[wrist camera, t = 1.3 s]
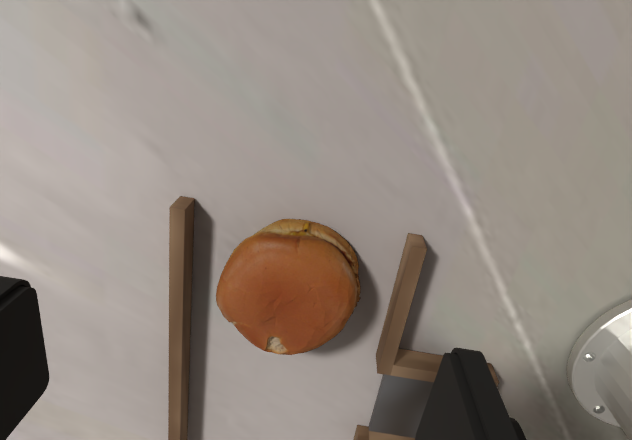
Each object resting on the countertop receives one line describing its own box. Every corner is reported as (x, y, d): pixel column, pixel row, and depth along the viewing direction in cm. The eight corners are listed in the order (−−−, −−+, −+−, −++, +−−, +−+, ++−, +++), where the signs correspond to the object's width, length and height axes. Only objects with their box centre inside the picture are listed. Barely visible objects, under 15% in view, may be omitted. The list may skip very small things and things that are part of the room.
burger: (352, 209, 30) (352, 240, 26) (363, 319, 34) (365, 362, 29) (214, 220, 31) (192, 252, 27) (239, 325, 35) (224, 368, 31)
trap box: (536, 254, 30) (548, 268, 28) (403, 575, 47) (405, 597, 45) (180, 196, 30) (169, 207, 28) (174, 537, 47) (167, 558, 45)
